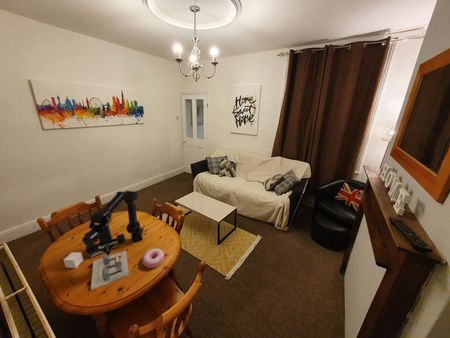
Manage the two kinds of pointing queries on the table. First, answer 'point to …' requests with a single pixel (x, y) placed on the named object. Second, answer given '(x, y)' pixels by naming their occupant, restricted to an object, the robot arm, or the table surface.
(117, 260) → the breaker
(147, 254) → the donut
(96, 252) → the black sponge
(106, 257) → the block
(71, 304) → the table surface
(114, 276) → the panel
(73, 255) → the white cube
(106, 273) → the breaker
